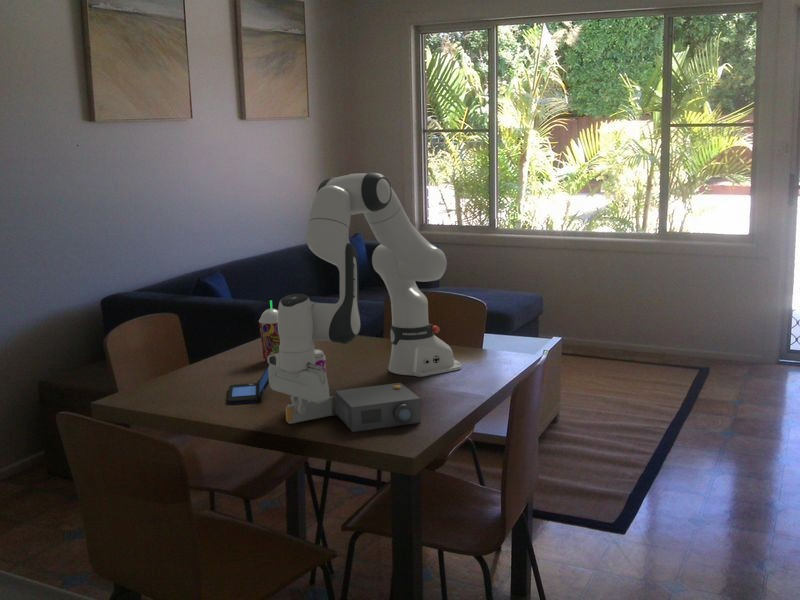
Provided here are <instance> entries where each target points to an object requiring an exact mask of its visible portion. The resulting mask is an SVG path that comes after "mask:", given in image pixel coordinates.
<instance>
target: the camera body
mask: <svg viewBox="0 0 800 600" xmlns="http://www.w3.org/2000/svg"><path fill="white" fill-rule="evenodd" d="M334 392H335V393H334V394H335V395H334V396H335V413H336V414H335V415H336V416H337V417H338V418H339V419H340V420H341V422H342V423H344V425H345V426H346V427H347V428H348V429H349V430H350V431H351V432H352V433H355V432H362V431H368V430H369V431H370V430H376V429H384V428H391V427H398V426H407V425H411V424H412V425H413V424H420V423H421V422H422V417H421V416H422V415H421V414H422V413H421V397H419V395H417V394H415V393H414V392H413V391H411V389H409V388H408V387H407V386H405V385H404V384H402V383H401V382H398V383H396V382H395V383H388V384H381V385H380V384H379V385H374V386H363V387H357V388H356V387H355V388H347V389H340V390H339V389H338V390H335V391H334Z"/></svg>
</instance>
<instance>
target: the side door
mask: <svg viewBox="0 0 800 600" xmlns="http://www.w3.org/2000/svg"><path fill="white" fill-rule="evenodd" d="M286 405H287V406H285V408H284V409H285V421H286V422H287V423H288V424H289V425H291V424H296V423H300V422H301V423H302V422H305V421H310V420H311V421H312V420H314V419H321V418H326V417H330V416H333V417H334V416H335V415H336V414H335V413H336V404H335V395H330V397H329V399H328V401H326V402H323V403H319V404H318V403H314V402H311V401H308V402H307V405H306V412H305V413H304V414H299V413H296V412H295V411H294V405H293V403H288V404H286Z"/></svg>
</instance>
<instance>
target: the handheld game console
mask: <svg viewBox="0 0 800 600" xmlns="http://www.w3.org/2000/svg"><path fill="white" fill-rule="evenodd" d="M267 364H268V363H267ZM269 365H270V364H268V365H267V366H266V368H265V370H264V372H263V374H262V375H261V377H260V379H259V380H257V382H255V383H253V382H252V383H251V382H250V383H240V384H239V383H238V384H230V385H229V387H228V393H227V394H228V395H227V404H229V405H238V404H239V405H240V404H256V402H257V403H258V402H260V403H262V396H263V394H264V392H265V391H266V389H267V387H268V385H269V375H268V368H269Z"/></svg>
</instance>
